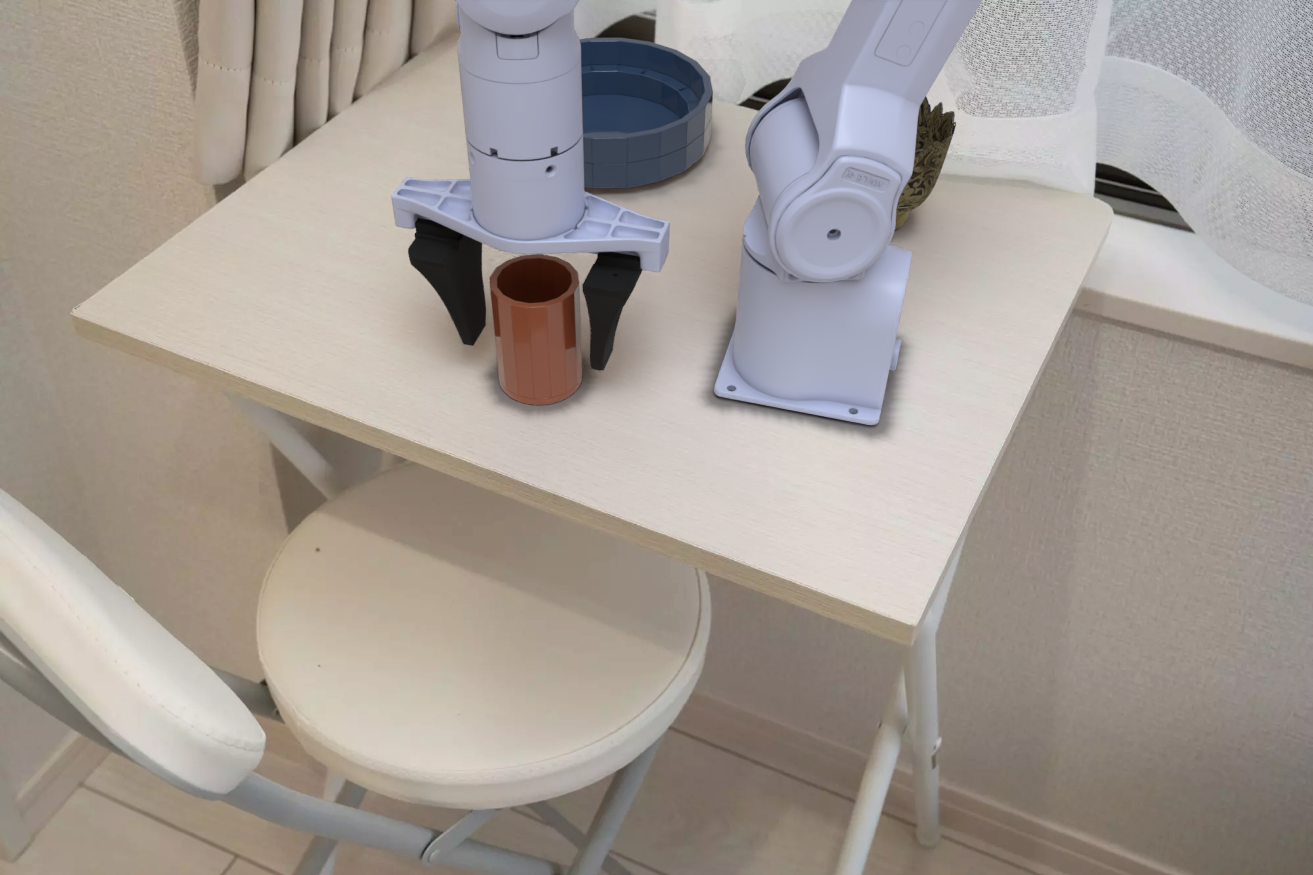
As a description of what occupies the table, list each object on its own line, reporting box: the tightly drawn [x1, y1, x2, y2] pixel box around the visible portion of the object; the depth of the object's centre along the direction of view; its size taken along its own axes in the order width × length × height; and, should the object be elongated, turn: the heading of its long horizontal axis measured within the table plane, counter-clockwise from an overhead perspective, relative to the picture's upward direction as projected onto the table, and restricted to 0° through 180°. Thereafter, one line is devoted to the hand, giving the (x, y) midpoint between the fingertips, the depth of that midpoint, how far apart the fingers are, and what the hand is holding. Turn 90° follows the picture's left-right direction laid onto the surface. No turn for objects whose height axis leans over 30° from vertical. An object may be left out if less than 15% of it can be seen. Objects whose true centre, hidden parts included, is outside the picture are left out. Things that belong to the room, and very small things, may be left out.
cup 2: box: [895, 96, 957, 230], centre depth 78 cm, size 8×7×8 cm
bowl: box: [579, 37, 714, 189], centre depth 87 cm, size 15×15×4 cm
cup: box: [489, 254, 583, 406], centre depth 66 cm, size 5×5×7 cm
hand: (537, 346), depth 67 cm, fingers open, 7 cm apart
